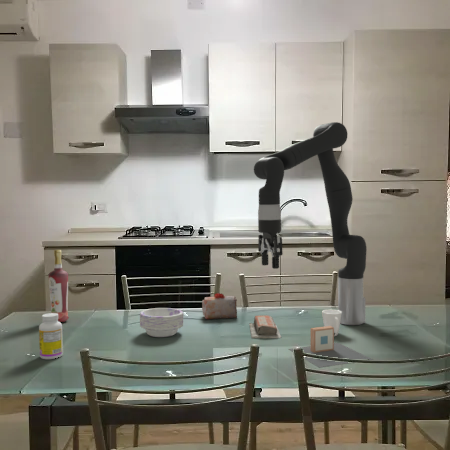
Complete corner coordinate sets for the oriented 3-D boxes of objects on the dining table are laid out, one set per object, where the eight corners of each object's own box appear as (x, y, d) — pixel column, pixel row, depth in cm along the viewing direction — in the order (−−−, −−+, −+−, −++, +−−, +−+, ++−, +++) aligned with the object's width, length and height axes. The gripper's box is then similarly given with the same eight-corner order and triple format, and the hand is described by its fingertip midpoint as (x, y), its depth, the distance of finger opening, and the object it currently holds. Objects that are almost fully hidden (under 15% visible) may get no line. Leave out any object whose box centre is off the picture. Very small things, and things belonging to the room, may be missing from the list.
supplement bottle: (43, 353, 153) (42, 312, 153) (65, 352, 154) (64, 311, 153) (37, 360, 147) (35, 317, 146) (59, 359, 147) (58, 317, 146)
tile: (330, 348, 154) (330, 325, 154) (334, 350, 152) (334, 327, 152) (310, 350, 152) (310, 328, 152) (314, 352, 150) (314, 329, 150)
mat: (338, 344, 160) (338, 342, 160) (373, 361, 143) (373, 359, 143) (288, 350, 154) (288, 349, 154) (319, 369, 137) (319, 367, 137)
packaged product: (249, 314, 184) (275, 314, 184) (249, 327, 184) (275, 327, 184) (251, 326, 166) (281, 326, 166) (251, 341, 166) (281, 340, 166)
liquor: (73, 320, 194) (71, 249, 192) (58, 325, 188) (56, 251, 186) (61, 318, 198) (59, 248, 196) (45, 322, 192) (43, 250, 190)
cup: (338, 331, 175) (338, 308, 175) (348, 339, 165) (348, 315, 165) (319, 332, 175) (319, 309, 174) (327, 340, 165) (327, 316, 164)
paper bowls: (191, 330, 178) (191, 309, 178) (169, 342, 164) (168, 318, 164) (155, 326, 184) (155, 305, 184) (131, 337, 171) (130, 314, 170)
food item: (203, 320, 193) (203, 295, 193) (201, 315, 201) (201, 291, 200) (237, 319, 195) (237, 294, 194) (235, 314, 203) (234, 290, 202)
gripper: (289, 218, 159) (289, 269, 160) (271, 217, 172) (271, 263, 173) (267, 219, 156) (268, 270, 157) (250, 217, 170) (251, 264, 171)
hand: (270, 266), depth 165 cm, fingers open, 8 cm apart
